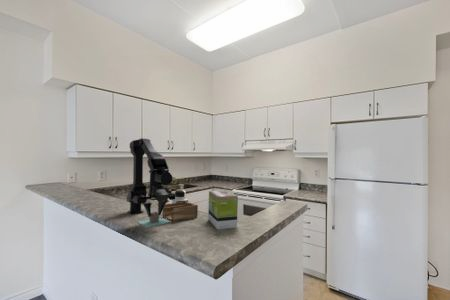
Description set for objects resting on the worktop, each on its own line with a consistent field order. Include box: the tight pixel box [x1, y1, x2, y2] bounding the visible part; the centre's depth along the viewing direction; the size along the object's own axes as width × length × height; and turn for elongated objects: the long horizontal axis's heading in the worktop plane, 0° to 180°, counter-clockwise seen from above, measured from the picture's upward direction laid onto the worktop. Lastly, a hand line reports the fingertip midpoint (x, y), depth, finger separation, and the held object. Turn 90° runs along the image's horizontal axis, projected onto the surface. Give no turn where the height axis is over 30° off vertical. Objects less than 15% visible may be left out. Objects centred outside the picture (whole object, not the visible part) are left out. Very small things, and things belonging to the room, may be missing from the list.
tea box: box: [207, 190, 239, 230], centre depth 98 cm, size 15×10×15 cm, turn 21°
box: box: [162, 201, 199, 223], centre depth 106 cm, size 11×14×6 cm
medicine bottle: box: [171, 189, 189, 204], centre depth 117 cm, size 7×7×12 cm
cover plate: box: [137, 211, 171, 229], centre depth 96 cm, size 9×12×5 cm
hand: (154, 216), depth 96 cm, fingers open, 5 cm apart
